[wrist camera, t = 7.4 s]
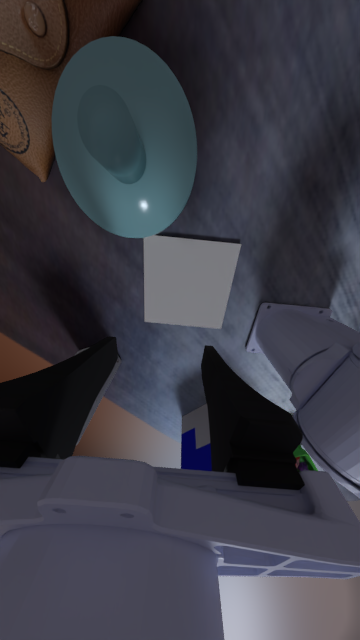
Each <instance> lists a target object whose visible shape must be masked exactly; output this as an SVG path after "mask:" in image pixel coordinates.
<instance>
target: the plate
mask: <svg viewBox="0 0 360 640" xmlns="http://www.w3.org/2000/svg"><path fill="white" fill-rule="evenodd" d="M240 247H241V244H235V243H225V242H215V241H205V240H195V239H185V238H176V237H166V236H156V235H153V236H150V237H145V238H144V307H145V322H153V323H163V324H174V325H185V326H195V327H206V328H217V329H221V327H222V323H223V318H224V314H225V310H226V306H227V302H228V298H229V293H230V289H231V285H232V281H233V277H234V273H235V268H236V264H237V260H238V256H239V252H240Z"/></svg>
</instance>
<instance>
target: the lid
mask: <svg viewBox="0 0 360 640" xmlns="http://www.w3.org/2000/svg"><path fill="white" fill-rule="evenodd" d="M52 138H53V146H54V151H55V155H56V160H57V163H58V166H59V169H60V172H61V175H62V177H63V179H64V182H65V184H66V186H67V188H68V190H69V192H70V193H71V195H72V197H73V198H74V200H75V201H76V203H77V204H78V205H79V207H80V208H81V209H82V210H83V211H84V212H85V214H86V215H87V216H88V217H89V218H90V219H92V220H93V221H94V222H95V223H96V224H98V225H99V226H101V227H102V228H103V229H105V230H107V231H109V232H111V233H113V234H116V235H119V236H123V237H128V238H145V237H150V236H153V235H156V234H158V233H160V232H162V231H163V230H165V229H166V228H168V227H169V226H170V225H171V224H172V223H173V222H174V221H175V220H176V219H177V218H178V216H179V215H180V214H181V212H182V211H183V209H184V207H185V205H186V204H187V201H188V199H189V196H190V194H191V191H192V187H193V183H194V178H195V173H196V164H197V140H196V130H195V125H194V120H193V116H192V113H191V109H190V106H189V103H188V100H187V98H186V96H185V93H184V91H183V89H182V87H181V85H180V83H179V82H178V80H177V78H176V76H175V75H174V74H173V72H172V71H171V70H170V68H169V67H168V65H167V64H166V63H165V62H164V61H163V60H162V59H161V58H160V57H159V56H158V55H157V54H156V53H154V52H153V51H152V50H151V49H149V48H148V47H146V46H145V45H143V44H141V43H139V42H137V41H135V40H132V39H128V38H125V37H116V36H110V37H103V38H99V39H97V40H94V41H91V42H90V43H88V44H87V45H85V46H83V47H82V48H81V49H80V50H79V51H78V52H77V53H76V54H75V55H74V56H73V57H72V58H71V59H70V61H69V62H68V64H67V65H66V67H65V68H64V70H63V72H62V74H61V77H60V79H59V82H58V85H57V88H56V91H55V95H54V101H53V107H52Z"/></svg>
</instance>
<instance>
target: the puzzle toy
mask: <svg viewBox="0 0 360 640" xmlns="http://www.w3.org/2000/svg"><path fill="white" fill-rule="evenodd" d="M181 469H188V470H201V471H212V465H211V446H210V431H209V418H208V408H207V404H205V405H203V406H201V407H199V408H197V409H196V410H194V411H192V412H190V413H188V414H186V415H185V416H183V417H182V442H181Z"/></svg>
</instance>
